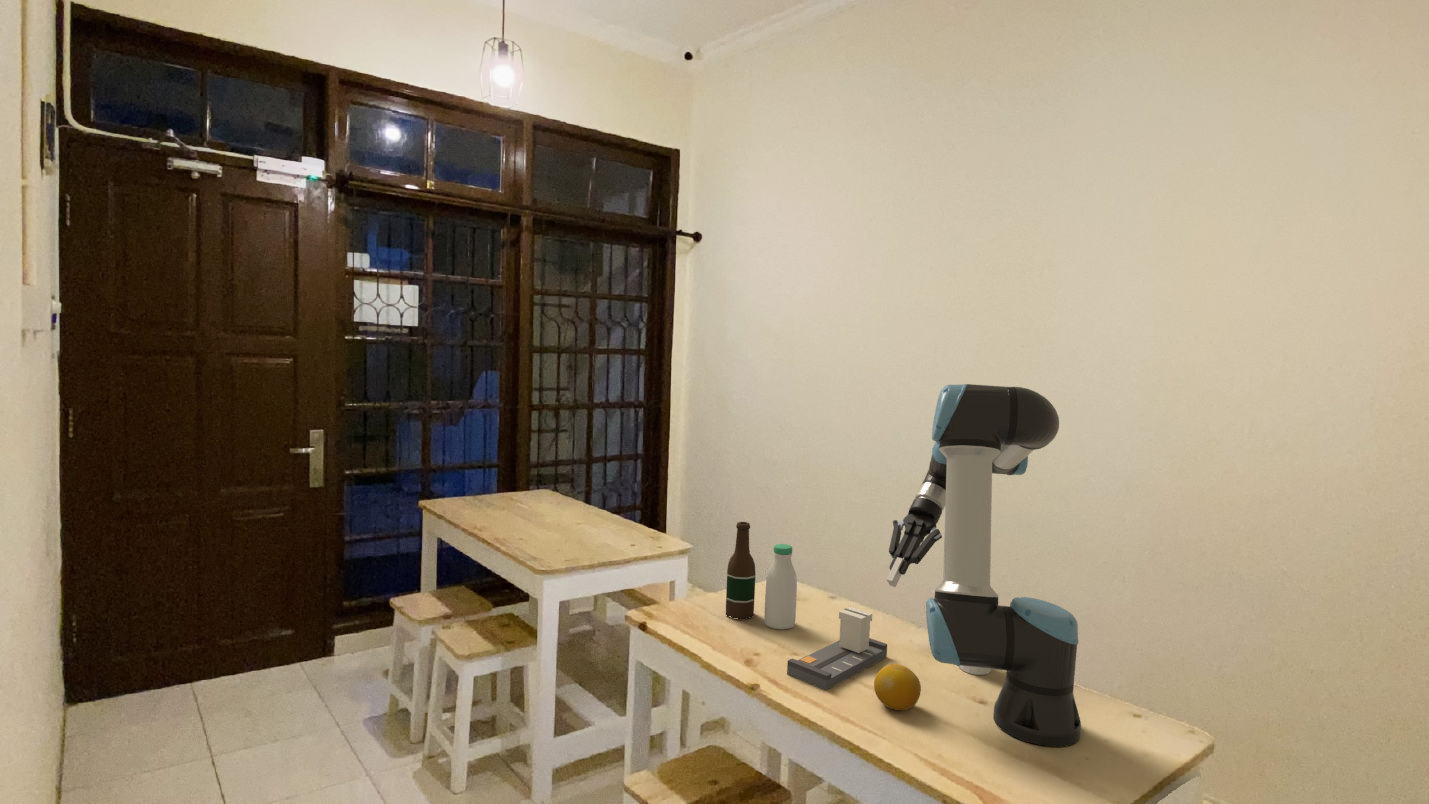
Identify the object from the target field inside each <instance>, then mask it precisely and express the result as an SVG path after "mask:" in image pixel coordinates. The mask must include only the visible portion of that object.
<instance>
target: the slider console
mask: <svg viewBox="0 0 1429 804" xmlns="http://www.w3.org/2000/svg"><path fill="white" fill-rule="evenodd" d="M887 654H888V643H886V642H882V641H880V640H877V639H873V638H870V637H869V648H868V649H866V650H864V651H862V652H860V653H857V652H854V651H851V650H849V649H846V648H843V647H840V646H839V640H837V641H835V642H832V643H831V644H828V645H827V646H825V647H823V648H820V649H818V650H816V651H814V652H811V653H810V654H807V655H806V656H804V657H801V658H800V659H795V658H790V659H787V664H786V667H787V669H786V674H787V675H788V676H790V677H793V678H796V679H798V680H800V681H802V682H805V683H808V684H810V685H813V686H815V687H817V688H820V689H822V690H825V691H827V690H829V689H831V688H833V687H835V686H836V685H838V684H840V683H842V682H844V681H845V680H847V679H849V678H851V677H853V676H854V675H856V674H858V673H861V672H862V671H864V670H865V669H867V668H869V667H871V666H873V665H875V664H877V663H878V662H880V661H882V660H883V659H885V658H887V656H888V655H887ZM876 662H877V663H876Z"/></svg>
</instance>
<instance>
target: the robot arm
mask: <svg viewBox="0 0 1429 804" xmlns="http://www.w3.org/2000/svg"><path fill="white" fill-rule="evenodd" d="M932 423H933V424H932V429H931V430H932V431H931V439H932V441H934V444H933V447H932V452H931V457H930V462H929V466H928V470H927V472H926V473H925V474H926V475H925V477H924V479H923V481H922V483H921V485H920V487H919V488H918V491H917V493H916V495H915V496H914V498H915V499H913V501H912V503H911V505H910V507H909V508H908V513H907V514H906V516H904V518H902V520H897V519H894V520H892V526H893V530H892V535H891V539H890V544H889V548H888V553H889V554H890V555H889V556H891V558H892V559H891V563H890V565H889V567H888V568H889V570H890V572H889V573H888V575H887V578H886V581H887V583H888V585H889V586H891V587H893V588H896V587H897V585H898V582H899V581H900V579H901V577H902V576H903V575H904V576H905V575H906V573H907V571H908V569H909V566H910V565H912V564H915V565H919V563H921V561H922V560H923V558H925V556H926V555H927V553H928V552H930V550H931V548H932V547H934V545H935V543H936V542H938V541H940V539H942V538H943V535H942V533H941V531H940V529H939V528H937V525H938V524H939V523H938V522H939V520H940V518H941V516H942V514H943V511H944V512H945V514H944V544H943V545H944V546H943V549H944V550H943V571H942V572H943V579H942V582H941V583H940V584H939V585H938V586H936V587H935V589H934V597H931V598H928V599H926V602H925V607H926V609H925V610H926V612H925V613H926V614H925V615H926V626H927V627H926V628H927V636H928V643H929V648H930V653H931V655H932V657H933V658H934V659H935V660H936V661H937V662H939V663H942V664H949V665H954V666H956V667H959V666H960V665H962V666H971V667H980V668H990V669H991V670H1000V671H1006V673H1005V674H1006V675H1005V676H1006V677H1005V681H1004V683H1003V685H1002V688H1001V690H1000V692H999V694H998V697H997V698H996V699H997V700H996V701H995V703H994V705H993V714H992V715H993V721H994V723H995V724H996V726H997V727H998V726H999V727H1000V728H1001V729H1000V728H999V729H1000V730H1002V731H1003V732H1004V731H1006V732H1007V733H1006V732H1005V733H1006V734H1008V735H1009V734H1010V735H1009V736H1011V737H1013V736H1014V737H1013V738H1015V737H1016V739H1018V740H1020V741H1024V742H1026V741H1028V742H1027V743H1029V742H1030V744H1033V743H1034V744H1033V745H1037V744H1038V746H1042V745H1048V746H1047V747H1051V746H1053V747H1054V746H1057V747H1056V748H1058V747H1059V748H1061V747H1060V746H1062V747H1067V746H1066V745H1069V746H1072V745H1074V744H1076V743H1078V742H1079V740H1080V739H1081V736H1082V735H1081V732H1082V722H1081V717H1080V714H1079V711H1078V710H1079V709H1078V706H1077V703H1076V699H1075V696H1074V687H1075V686H1074V684H1075V676H1076V673H1075V672H1076V664H1077V663H1076V661H1077V651H1078V645H1079V635H1078V634H1079V633H1078V632H1079V631H1078V630H1079V627H1078V621H1077V619H1076V617H1075V616H1074V615H1073V614H1072V613H1071V612H1070V611H1068V610H1067V609H1065V608H1064V607H1061V606H1059V605H1058V604H1054V603H1052V602H1050V601H1046V600H1043V599H1038V598H1036V597H1035V598H1033V597H1027V596H1021V597H1019V596H1017V597H1014V598H1012V600H1011V602H1010V603H1009V606H1007V605H999V594H998V593H997V592H996V591H995V590H994V589H993V587H992V586H991V559H992V558H991V556H992V555H991V553H992V552H991V550H992V549H991V548H992V494H993V490H992V489H993V474H994V475H995V474H996V475H1008V476H1021V475H1024V474H1025V473H1026V471H1027V468H1028V463H1029V456H1030V454H1032V452H1034V451H1035V450H1040V449H1042V448H1043V449H1044V448H1045V447H1046V446H1048V445H1049V444H1050V443H1051V442H1053V440H1054V439H1055V438H1056V437H1057V434H1058V432H1059V429H1060V417H1059V415H1058V412H1057V410H1056V408H1055V406H1054V405H1053V404H1052V402H1050V400H1049V399H1047V398H1046V397H1045V396H1044V395H1042V394H1040V393H1038V392H1036V391H1035V390H1032V389H1029V388H1025V387H1022V386H1003V385H1002V386H1000V385H986V384H985V385H983V384H969V383H963V384H962V383H961V384H947V385H945V386H944V387H942V389H941V390H940V392H939V395H938V398H937V402H936V406H935V411H934V416H933V422H932ZM904 527H905V528H904ZM903 528H904V529H905V530H904V529H903ZM903 530H904V533H903V536H902V531H903ZM901 537H902V538H901ZM1075 742H1076V743H1075ZM1071 744H1072V745H1071Z"/></svg>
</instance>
